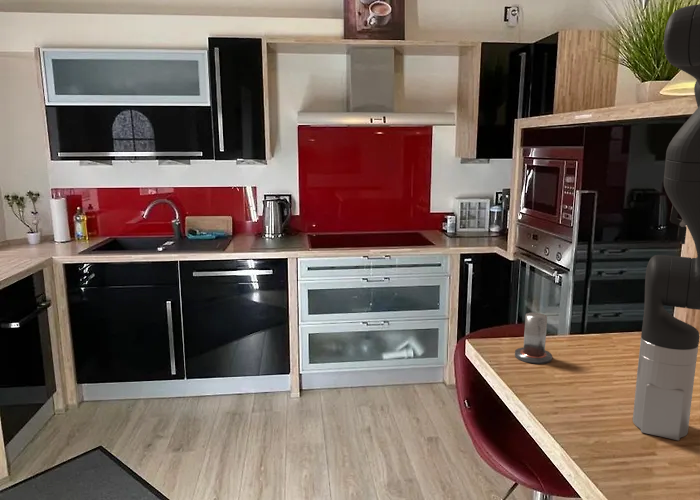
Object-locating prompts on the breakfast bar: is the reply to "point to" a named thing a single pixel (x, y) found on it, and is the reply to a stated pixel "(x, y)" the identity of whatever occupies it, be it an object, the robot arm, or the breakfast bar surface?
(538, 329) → the grey metal cylinder
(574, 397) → the breakfast bar surface
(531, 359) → the flange pad
